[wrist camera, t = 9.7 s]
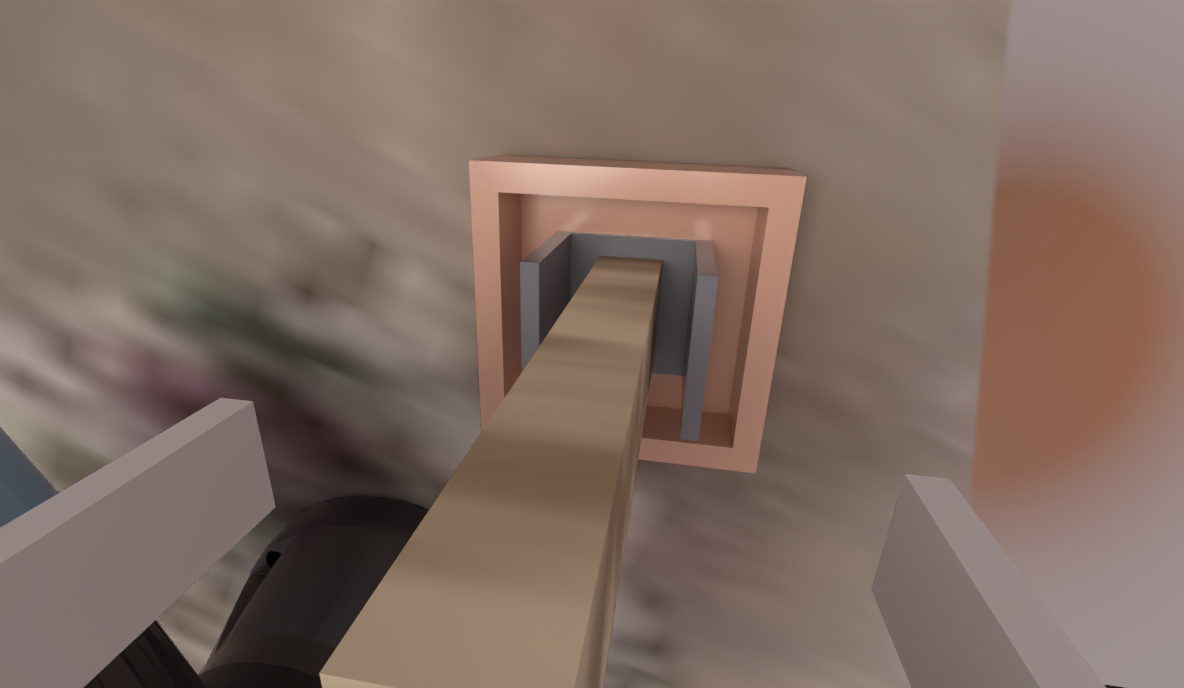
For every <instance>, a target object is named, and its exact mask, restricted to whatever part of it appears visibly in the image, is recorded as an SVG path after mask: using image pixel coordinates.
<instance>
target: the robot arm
mask: <svg viewBox="0 0 1184 688" xmlns="http://www.w3.org/2000/svg"><path fill="white" fill-rule="evenodd" d="M275 507H276V506H275V501H274V497H273V492H272V487H271V483H270V478H269V473H268V469H267V464H266V459H265V455H264V450H263V445H262V441H261V436H260V432H259V427H258V422H257V418H256V413H255V408H254V404H253V401H246V400H237V399H228V398H219V399H218V400H216V401H214V402H213V403H211V404H209V405H207V406H206V407H204V408H202V409H201V410H199V411H197V412H196V413H194V414H192V415H190V416H189V417H187V418H185V419H184V420H182V421H180V422H179V423H177V424H175V425H174V426H172V427H170V428H168V429H167V430H165V431H163V432H162V433H160V434H158V435H157V436H155V437H153V438H151V439H150V440H148V441H146V442H145V443H143V444H141V445H140V446H138V447H136V448H135V449H133V450H131V451H129V452H128V453H126V454H124V455H123V456H121V457H119V458H118V459H116V460H114V461H112V462H111V463H109V464H107V465H106V466H104V467H102V468H101V469H99V470H97V471H96V472H94V473H92V474H90V475H89V476H87V477H85V478H84V479H82V480H80V481H79V482H77V483H75V484H73V485H72V486H70V487H68V488H67V489H65V490H63V491H62V492H58V491H56V489H55V488H54V487H53V486H52V485H51V484H50V483H49V481H48V480H47V479H46V478H45V477H44V476H43V475H42V474H41V472H40V471H39V470H38V469H37V468H36V467H35V466H34V464H33V463H32V462H31V461H30V460H29V459H28V458H27V457H26V455H25V454H24V453H23V452H22V451H21V450H20V449H19V447H18V446H17V445H16V444H15V443H14V442H13V441H12V440H11V438H10V437H9V436H8V435H7V434H6V433H5V432H4V430H3V429H2V428H1V427H0V688H322V684H321V679H320V675H319V673H320V671H321V670H322V668H323V667H324V665H325V664H326V662H327V661H328V659H329V658H330V657H331V655H332V654H333V652H334V651H335V649H336V648H337V646H338V645H339V643H340V642H341V640H342V639H343V637H344V636H345V634H346V633H347V631H348V630H349V628H350V627H351V625H352V624H353V622H354V621H355V619H356V618H357V616H358V615H359V613H360V612H361V610H362V609H363V608H364V606H365V605H366V603H367V602H368V600H369V599H370V597H371V596H372V594H373V593H374V591H375V590H376V588H377V587H378V585H379V584H380V582H381V581H382V579H383V578H384V576H385V575H386V573H387V572H388V570H389V569H390V567H391V566H392V564H393V563H394V561H395V560H396V559H397V557H398V556H399V554H400V553H401V551H402V550H403V548H404V547H405V545H406V544H407V542H408V541H409V539H410V538H411V536H412V535H413V533H414V532H415V530H416V529H417V527H418V526H419V524H420V523H421V521H422V520H423V518H424V517H425V515H426V514H427V513H428V511H426V510H424V509H421V508H419V507H416V506H413V505H410V504H407V503H403V502H400V501H396V500H391V499H386V498H379V497H368V496H353V497H343V498H337V499H332V500H329V501H325V502H322V503H319V504H317V505H315V506H313V507H311V508H309V509H307V510H306V511H304V512H303V513H301V514H300V515H298V516H297V517H296V518H295V519H294V520H293V521H292V522H291V523H290V524H289V525H288V526H287V527H286V528H285V529H284V530H283V531H282V532H281V533H280V534H279V535H278V536H277V537H276V538H275V539H274V540H273V541H272V542H271V543H270V544H269V545H268V546H267V548H266V549H265V550H264V552H263V553H262V554H261V556H260V557H259V559H258V560H257V562H256V564H255V566H254V568H253V570H252V572H251V574H250V576H249V578H248V580H247V582H246V584H245V586H244V588H243V590H242V592H241V594H240V596H239V598H238V600H237V602H236V604H235V606H234V608H233V610H232V612H231V614H230V616H229V618H228V620H227V622H226V624H225V626H224V628H223V631H222V633H221V635H220V637H219V639H218V641H217V643H216V645H215V647H214V649H213V651H212V653H211V655H210V657H209V659H208V661H207V663H206V665H205V666H204V667H203V669H202V670H201V671H200V672H199V674H197V673H196V672H195V670H194V669H193V668H192V666H191V665H190V664H189V662H188V661H187V660H186V659H185V657H184V656H183V655H182V653H181V652H180V651H179V649H178V648H177V647H176V645H175V644H174V643H173V641H172V640H171V639H170V637H169V636H168V635H167V633H166V632H165V631H164V630H163V628H162V627H161V626H160V624H159V623H158V622H157V620H156V619H157V618H158V617H159V616H160V615H161V614H162V613H163V612H164V611H166V610H167V609H168V608H169V607H170V606H171V605H172V604H173V603H174V602H175V601H176V600H177V599H178V598H179V597H180V596H182V595H183V594H184V593H185V592H186V591H187V590H188V589H189V588H190V587H191V586H192V585H193V584H194V583H195V582H196V581H198V580H199V579H200V578H201V577H202V576H203V575H204V574H205V573H206V572H207V571H208V570H209V569H210V568H211V567H212V566H214V565H215V564H216V563H217V562H218V561H219V560H220V559H221V558H222V557H223V556H224V555H225V554H226V553H227V552H228V551H230V550H231V549H232V548H233V547H234V546H235V545H236V544H237V543H238V542H239V541H240V540H241V539H242V538H243V537H244V536H246V535H247V534H248V533H249V532H250V531H251V530H252V529H253V528H254V527H255V526H256V525H257V524H258V523H259V522H260V521H262V520H263V519H264V518H265V517H266V516H267V515H268V514H269V513H270V512H271V511H272V510H273V509H274V508H275ZM872 591H873V593H874V596H875V598H876V601H877V603H878V606H879V608H880V611H881V613H882V616H883V618H884V621H885V623H886V626H887V628H888V631H889V633H890V636H891V638H892V641H893V643H894V645H895V648H896V650H897V653H898V655H899V658H900V660H901V663H902V665H903V668H904V670H905V673H906V675H907V678H908V680H909V683H910V685H911V688H1123V687H1117V686H1110V685H1104V684H1103V683H1102V681H1101V680H1100V679H1099V678H1098V676H1097V675H1096V673H1095V672H1094V671H1093V670H1092V668H1091V667H1090V666H1089V664H1088V663H1087V661H1086V660H1085V659H1084V658H1083V656H1082V655H1081V654H1080V652H1079V651H1078V649H1077V648H1076V647H1075V646H1074V644H1073V643H1072V642H1071V640H1070V639H1069V637H1068V636H1067V635H1066V634H1065V632H1064V631H1063V630H1062V628H1061V627H1060V625H1059V624H1058V623H1057V621H1056V620H1055V619H1054V618H1053V616H1052V615H1051V613H1050V612H1049V611H1048V609H1047V608H1046V607H1045V605H1044V604H1043V603H1042V601H1041V600H1040V599H1039V597H1038V596H1037V595H1036V594H1035V592H1034V591H1033V589H1032V588H1031V587H1030V585H1029V584H1028V583H1027V581H1026V580H1025V579H1024V577H1023V576H1022V575H1021V573H1020V572H1019V571H1018V569H1017V568H1016V567H1015V565H1014V564H1013V563H1012V561H1011V560H1010V559H1009V557H1008V556H1007V555H1006V553H1005V552H1004V551H1003V550H1002V548H1001V547H1000V545H999V544H998V543H997V541H996V540H995V539H994V537H993V536H992V535H991V533H990V532H989V531H988V529H987V528H986V527H985V525H984V524H983V523H982V522H981V520H980V519H979V517H978V516H977V515H976V513H975V512H974V511H973V509H972V508H971V507H970V505H969V504H968V503H967V501H966V500H965V499H964V497H963V496H962V495H961V493H960V492H959V491H958V489H957V488H956V487H955V485H954V484H953V483H952V481H951V480H950V479H947V478H938V477H929V476H920V475H911V474H905V475H904V479H903V482H902V486H901V489H900V493H899V496H898V499H897V503H896V506H895V510H894V513H893V517H892V520H891V524H890V527H889V531H888V534H887V538H886V541H885V545H884V548H883V551H882V555H881V558H880V562H879V565H878V569H877V572H876V576H875V579H874V583H873V586H872Z"/></svg>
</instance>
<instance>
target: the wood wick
mask: <svg viewBox="0 0 1184 688" xmlns="http://www.w3.org/2000/svg"><path fill="white" fill-rule="evenodd" d="M661 269H662V260H657V259H643V258H629V257H615V256H600V257H599V259H598V260H597V262H596V263H595V265H594V266H593V268H592V269H591V271H590V272H589V274H588V275H587V276H586V278H585V279H584V281H583V282H582V284H581V285H580V287H579V288H578V290H577V291H576V293H575V294H574V296H573V297H572V299H571V300H570V302H569V303H568V305H567V306H566V308H565V309H564V311H563V312H562V314H561V315H560V317H559V318H558V320H557V321H556V322H555V324H554V325H553V327H552V328H551V330H550V331H549V333H548V334H547V336H546V337H545V339H544V340H543V342H542V343H541V345H540V346H539V348H538V349H537V351H536V352H535V354H534V355H533V357H532V358H531V360H530V361H529V363H528V364H527V366H526V367H525V369H524V370H523V371H522V373H521V374H520V376H519V377H518V379H517V380H516V382H515V383H514V385H513V386H512V388H511V389H510V391H509V392H508V394H507V395H506V397H505V398H504V400H503V401H502V403H501V404H500V406H499V407H498V409H497V410H496V412H495V413H494V415H493V416H492V418H491V419H490V420H489V422H488V423H487V425H486V426H485V428H484V429H483V431H482V432H481V434H480V435H479V437H478V438H477V440H476V441H475V443H474V444H473V446H472V447H471V449H470V450H469V452H468V453H467V455H466V456H465V458H464V459H463V461H462V462H461V464H460V465H459V466H458V468H457V469H456V471H455V472H454V474H453V475H452V477H451V478H450V480H449V481H448V483H447V484H446V486H445V487H444V489H443V490H442V492H441V493H440V495H439V496H438V498H437V499H436V501H435V502H434V504H433V505H432V507H431V508H430V510H429V511H428V513H427V514H426V515H425V517H424V518H423V520H422V521H421V523H420V524H419V526H418V527H417V529H416V530H415V532H414V533H413V535H412V536H411V538H410V539H409V541H408V542H407V544H406V545H405V547H404V548H403V550H402V551H401V553H400V554H399V556H398V557H397V559H396V560H395V561H394V563H393V564H392V566H391V567H390V569H389V570H388V572H387V573H386V575H385V576H384V578H383V579H382V581H381V582H380V584H379V585H378V587H377V588H376V590H375V591H374V593H373V594H372V596H371V597H370V599H369V600H368V602H367V603H366V605H365V606H364V608H363V609H362V610H361V612H360V613H359V615H358V616H357V618H356V619H355V621H354V622H353V624H352V625H351V627H350V628H349V630H348V631H347V633H346V634H345V636H344V637H343V639H342V640H341V642H340V643H339V645H338V646H337V648H336V649H335V651H334V652H333V654H332V655H331V657H330V658H329V659H328V661H327V662H326V664H325V665H324V667H323V668H322V670H321V671H320V673H319V675H320V679H321V684H322V688H603V683H604V677H605V670H606V664H607V657H608V651H609V645H610V638H611V632H612V625H613V619H614V612H615V606H616V599H617V593H618V587H619V580H620V574H621V567H622V561H623V554H624V548H625V542H626V535H627V529H628V522H629V516H630V509H631V503H632V496H633V490H634V484H635V477H636V471H637V464H638V458H639V451H640V445H641V438H642V432H643V426H644V419H645V413H646V406H647V400H648V393H649V387H650V381H651V374H652V368H653V361H654V354H655V342H656V330H657V318H658V306H659V294H660V282H661Z"/></svg>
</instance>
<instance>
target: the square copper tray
mask: <svg viewBox="0 0 1184 688" xmlns="http://www.w3.org/2000/svg"><path fill="white" fill-rule="evenodd" d="M469 175H470V196H471V218H472V239H473V260H474V282H475V303H476V325H477V346H478V368H479V389H480V410H481V432H482V431H483V429H484V428H485V426H486V425H487V423H488V422H489V420H490V419H491V418H492V416H493V415H494V413H495V412H496V410H497V409H498V407H499V406H500V404H501V403H502V401H503V400H504V398H505V397H506V395H507V394H508V392H509V391H510V389H511V388H512V386H513V385H514V383H515V382H516V380H517V379H518V377H519V376H520V374H521V373H522V371H523V370H524V369H525V367H526V366H527V364H528V363H529V361H530V360H531V358H532V357H533V355H534V354H535V352H536V351H537V349H538V348H539V346H540V345H541V343H542V342H543V340H544V339H545V337H546V336H547V334H548V333H549V331H550V330H551V328H552V327H553V325H554V324H555V322H556V321H557V320H558V318H559V317H560V315H561V314H562V312H563V311H564V309H565V308H566V306H567V305H568V303H569V302H570V300H571V299H572V297H573V296H574V294H575V293H576V291H577V290H578V288H579V287H580V285H581V284H582V282H583V281H584V279H585V278H586V276H587V275H588V274H589V272H590V271H591V269H592V268H593V266H594V265H595V263H596V262H597V260H598V259H599V257H600V256H615V257H629V258H643V259H657V260H662V269H661V282H660V294H659V306H658V318H657V330H656V342H655V354H654V361H653V368H652V374H651V381H650V387H649V393H648V400H647V406H646V413H645V419H644V426H643V432H642V438H641V445H640V451H639V458H638V459H640V460H648V461H656V462H665V463H673V464H681V465H689V466H698V467H706V468H714V469H723V470H731V471H739V472H747V473H756V470H757V464H758V458H759V452H760V447H761V441H762V435H763V429H764V423H765V417H766V412H767V406H768V400H769V394H770V388H771V382H772V377H773V371H774V365H775V359H776V353H777V348H778V342H779V336H780V330H781V324H782V318H783V313H784V307H785V301H786V295H787V289H788V283H789V278H790V272H791V266H792V260H793V254H794V249H795V243H796V237H797V231H798V225H799V219H800V214H801V208H802V202H803V196H804V190H805V184H806V179H807V177H806V176H804V175H802V174H800V173H798V172H796V171H794V170H792V169H789V168H775V167H754V166H732V165H711V164H690V163H668V162H647V161H625V160H604V159H583V158H561V157H540V156H518V155H496V156H491V157H485V158H479V159H473V160H469Z"/></svg>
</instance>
